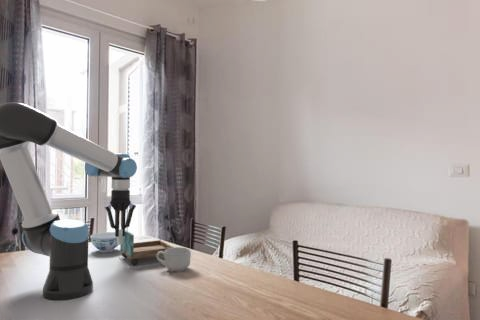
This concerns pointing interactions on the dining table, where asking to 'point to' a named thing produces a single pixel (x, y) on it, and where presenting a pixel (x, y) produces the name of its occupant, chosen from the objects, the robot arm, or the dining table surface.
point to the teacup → (176, 258)
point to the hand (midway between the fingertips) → (119, 243)
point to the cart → (141, 248)
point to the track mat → (143, 261)
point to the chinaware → (104, 241)
